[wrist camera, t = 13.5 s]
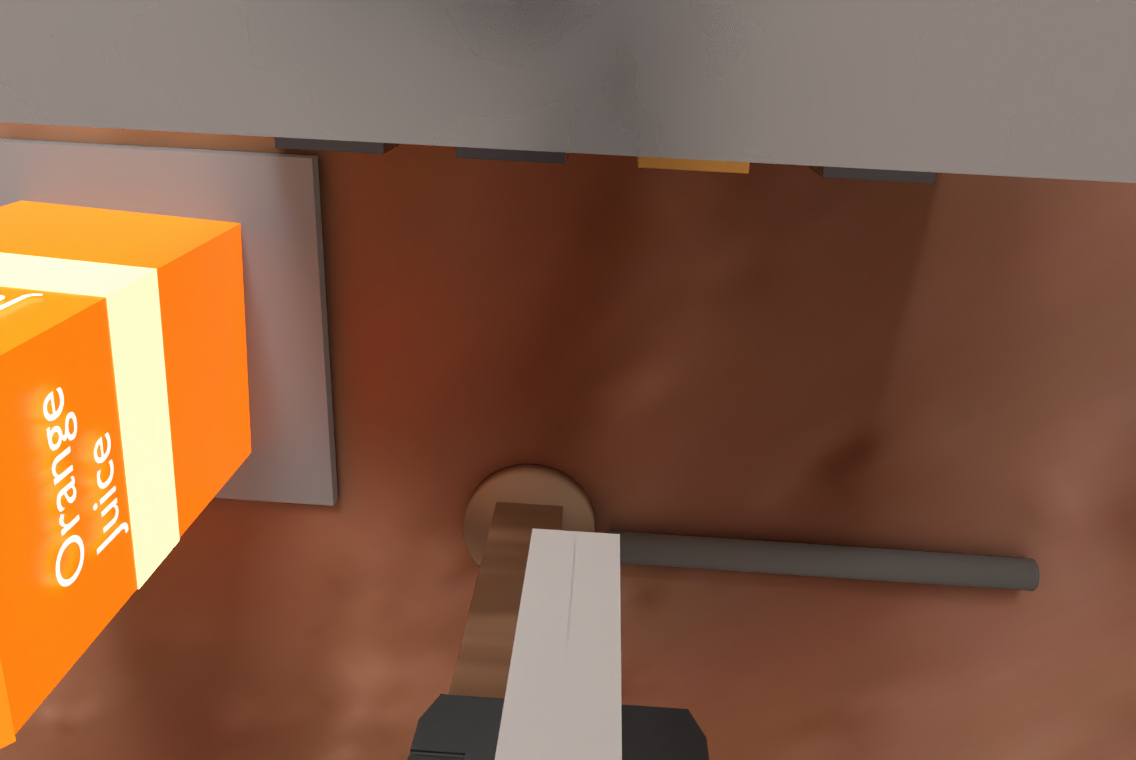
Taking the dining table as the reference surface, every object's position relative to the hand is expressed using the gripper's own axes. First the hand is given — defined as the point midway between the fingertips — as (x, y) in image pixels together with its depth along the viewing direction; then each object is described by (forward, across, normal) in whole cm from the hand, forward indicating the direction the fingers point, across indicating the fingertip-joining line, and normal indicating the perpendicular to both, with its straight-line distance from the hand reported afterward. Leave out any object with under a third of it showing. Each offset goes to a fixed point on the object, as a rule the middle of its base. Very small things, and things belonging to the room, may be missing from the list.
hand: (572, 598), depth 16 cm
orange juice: (+16, -16, -2) cm, 23 cm away
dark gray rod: (+17, +9, -9) cm, 21 cm away
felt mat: (+17, -16, -2) cm, 23 cm away
